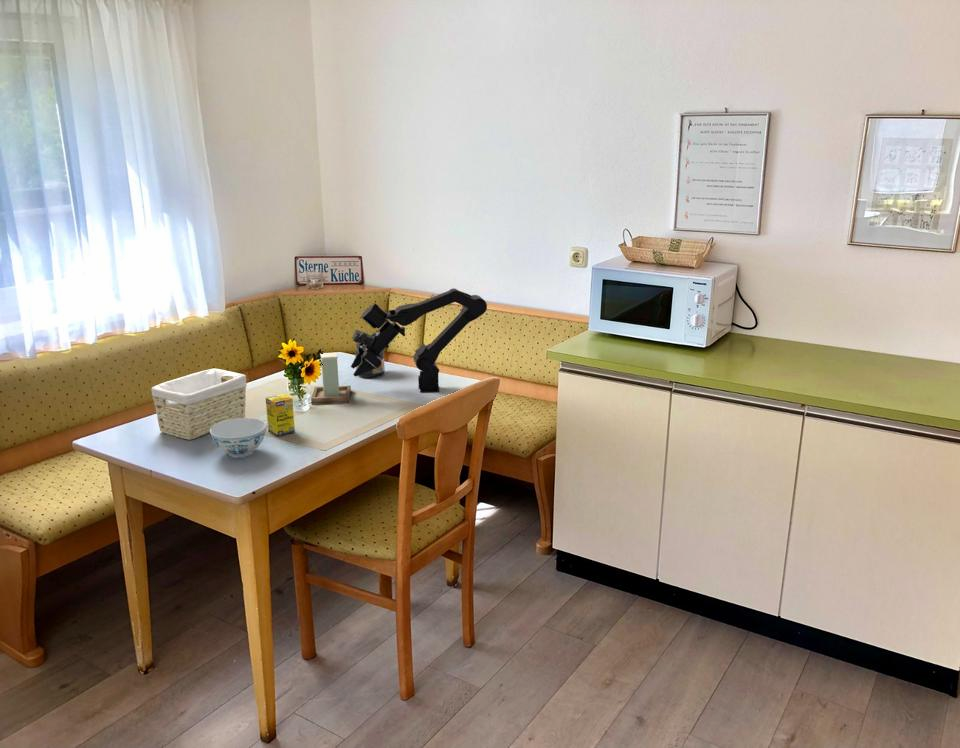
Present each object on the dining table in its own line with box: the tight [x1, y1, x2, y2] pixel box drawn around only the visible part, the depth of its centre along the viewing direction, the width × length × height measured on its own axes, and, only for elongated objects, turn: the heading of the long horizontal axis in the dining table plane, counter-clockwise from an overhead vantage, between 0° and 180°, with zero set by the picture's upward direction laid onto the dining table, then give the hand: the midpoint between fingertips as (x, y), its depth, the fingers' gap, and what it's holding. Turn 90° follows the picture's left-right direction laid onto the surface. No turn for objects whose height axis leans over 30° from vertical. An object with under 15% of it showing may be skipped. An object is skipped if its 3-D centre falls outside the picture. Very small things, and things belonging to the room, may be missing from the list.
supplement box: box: [265, 393, 296, 438], centre depth 234 cm, size 6×6×11 cm
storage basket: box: [151, 368, 247, 441], centre depth 239 cm, size 24×16×15 cm
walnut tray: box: [310, 385, 352, 405], centre depth 265 cm, size 12×12×2 cm
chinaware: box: [209, 417, 267, 458], centre depth 220 cm, size 15×15×8 cm
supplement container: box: [354, 342, 386, 379], centre depth 287 cm, size 10×10×12 cm
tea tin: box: [319, 351, 340, 397], centre depth 263 cm, size 5×5×14 cm
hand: (353, 371), depth 265 cm, fingers open, 9 cm apart
